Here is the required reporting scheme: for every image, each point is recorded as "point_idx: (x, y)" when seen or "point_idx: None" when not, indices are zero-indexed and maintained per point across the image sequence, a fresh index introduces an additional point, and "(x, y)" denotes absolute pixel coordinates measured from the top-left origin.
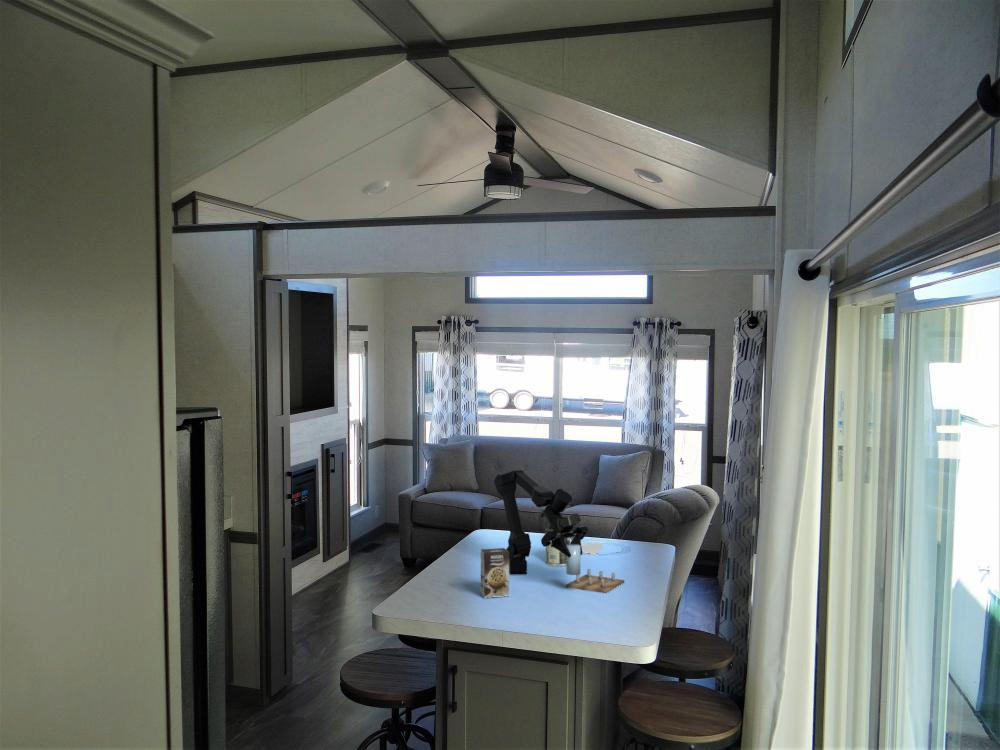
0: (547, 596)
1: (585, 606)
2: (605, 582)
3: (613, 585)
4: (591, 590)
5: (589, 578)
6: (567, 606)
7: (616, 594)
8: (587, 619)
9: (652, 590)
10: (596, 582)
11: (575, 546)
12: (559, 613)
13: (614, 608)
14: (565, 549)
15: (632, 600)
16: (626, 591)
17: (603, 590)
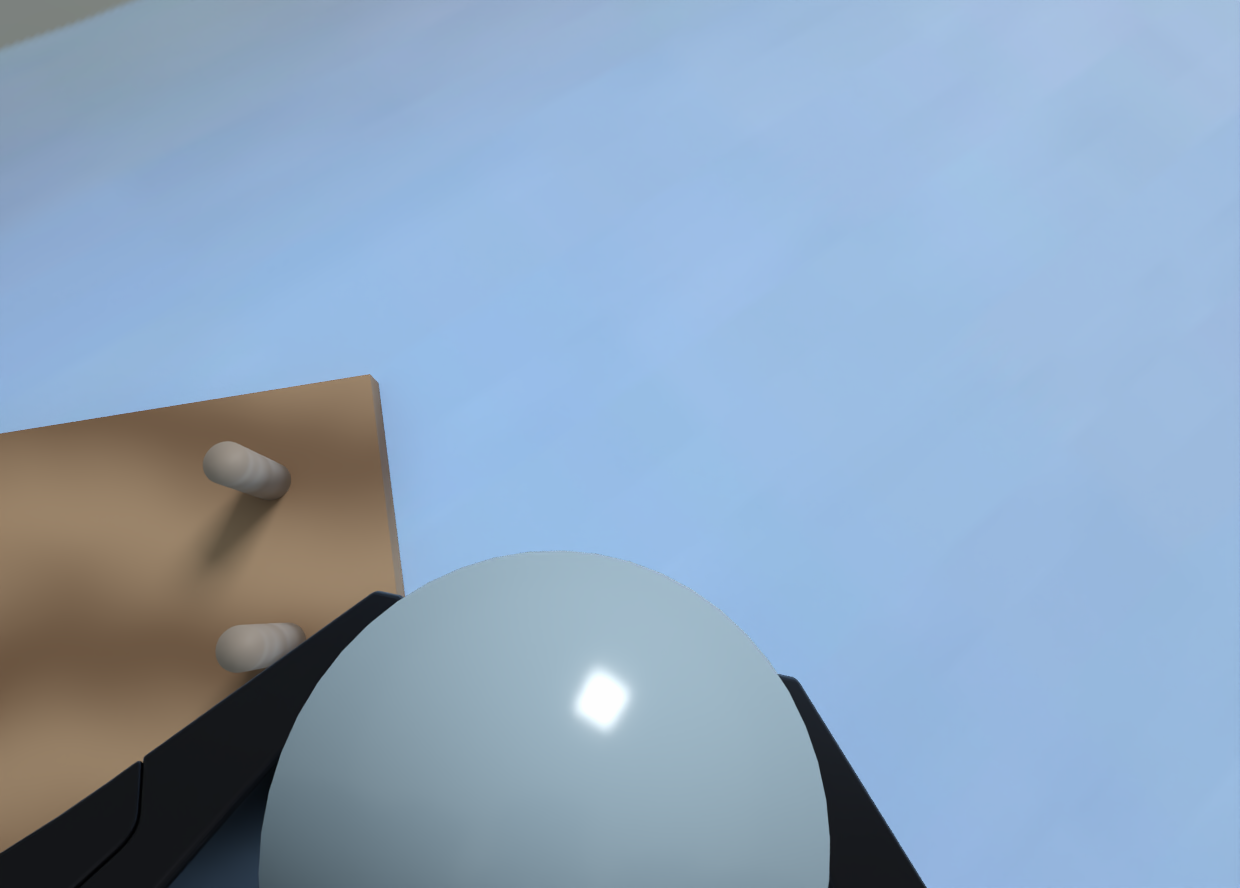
0: (891, 799)
1: (865, 293)
2: (70, 571)
3: (139, 426)
4: (398, 552)
5: (269, 642)
6: (986, 414)
7: (347, 290)
8: (1109, 94)
9: (7, 110)
10: (133, 657)
11: (644, 644)
12: (1182, 344)
13: (732, 86)
14: (901, 884)
15: (428, 89)
16: (189, 273)
17: (375, 408)
